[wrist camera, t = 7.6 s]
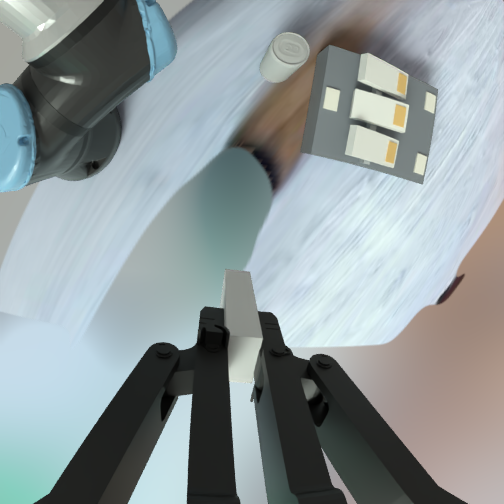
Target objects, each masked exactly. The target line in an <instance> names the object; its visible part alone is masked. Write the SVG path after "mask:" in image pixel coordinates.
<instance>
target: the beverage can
mask: <svg viewBox="0 0 504 504" xmlns="http://www.w3.org/2000/svg"><path fill="white" fill-rule="evenodd" d="M309 53H310V48H309V45H308V43H307V41H306V40H305V39H304V38H303V37H302V36H300V35H298V34H296V33H292V32H285V33H281V34H280V35H278V36H276V37H275V38H274V39H273V40H272V42H271V44H270V46H269V48H268V50H267V52H266V54H265V56H264V58H263V60H262V62H261V64H260V73H261V75H262V76H263V77H264V79H266V80H267V81H269V82H273V83H278V82H283V81H285V80H286V79H288V78H289V77H290V76H291V75H292V74H293V73H294V72H295V71H296V70H297V69H298V68H299V67H301V66H302V65H303V64H304V63H305V62H306V61H307V59H308V57H309Z"/></svg>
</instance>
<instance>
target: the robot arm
mask: <svg viewBox="0 0 504 504" xmlns="http://www.w3.org/2000/svg"><path fill="white" fill-rule="evenodd" d="M0 22H1V23H3V24H4V25H6V26H7V27H8V28H10V29H11V30H12V31H14V32H15V33H16V34H18V35H19V36H20V37H21V38H22V41H23V44H22V58H23V60H24V61H25V62H27V63H28V64H29V66H28V67H27V68H26V69H25V70H24V72H23V73H22V74H21V75H20V76H19V77H18V78H17V80H16V81H15V82H14V83H13V84H8V83H5V84H2V85H0V192H7V191H16V190H19V189H21V188H23V187H25V186H28V185H30V184H33V183H36V182H39V181H42V180H45V179H49V178H52V177H55V176H56V177H58V178H61V179H64V180H68V181H79V180H83V179H86V178H89V177H92V176H94V175H96V174H98V173H99V172H100V171H102V170H103V169H104V168H105V167H106V166H107V165H108V164H109V163H110V161H111V160H112V158H113V157H114V155H115V153H116V151H117V148H118V145H119V141H120V136H121V122H120V117H119V114H118V111H117V109H116V106H117V105H119V104H120V103H121V102H122V101H123V100H125V99H126V98H127V97H128V96H129V95H131V94H132V93H133V92H134V91H136V90H137V89H138V88H139V87H141V86H142V85H143V84H145V83H146V82H150V81H151V80H152V79H153V78H154V76H155V75H156V74H157V73H159V72H160V71H161V70H162V69H164V68H165V67H166V66H168V65H169V64H170V63H171V62H172V61H173V60H174V58H175V56H176V53H177V43H176V39H175V36H174V33H173V31H172V28H171V26H170V24H169V22H168V20H167V18H166V16H165V14H164V12H163V10H162V9H161V7H160V5H159V4H158V3H157V2H156V0H0ZM253 377H254V380H255V384H254V388H253V392H252V395H251V400H250V401H251V402H253V399H254V403H255V410H256V419H257V427H258V434H259V442H260V449H261V457H262V464H263V471H264V478H265V486H266V493H267V500H268V504H347V501H346V498H345V496H344V494H343V492H342V491H341V490H340V489H338V488H334V486H333V485H332V483H331V479H330V476H329V472H328V469H327V466H326V463H325V459H324V456H323V452H322V449H323V451H324V452H325V454H326V455H327V457H328V459H329V460H330V462H331V464H332V465H333V467H334V468H335V470H336V472H337V473H338V475H339V476H340V478H341V479H342V481H343V483H344V484H345V486H346V487H347V489H348V490H349V492H350V493H351V495H352V496H353V498H354V500H355V501H356V503H357V504H468V503H466V502H464V501H462V500H460V499H459V498H457V497H455V496H454V495H452V494H451V493H449V492H447V491H446V490H444V489H442V488H441V487H439V486H438V485H437V484H436V483H435V481H434V480H433V479H432V478H431V477H430V475H429V474H428V473H427V472H426V471H425V469H424V468H423V467H422V466H421V464H420V463H419V462H418V461H417V460H416V458H415V457H414V456H413V455H412V453H411V452H410V451H409V450H408V449H407V447H406V446H405V445H404V444H403V442H402V441H401V440H400V439H399V438H398V436H397V435H396V434H395V433H394V431H393V430H392V429H391V428H390V427H389V425H388V424H387V423H386V422H385V421H384V419H383V418H382V417H381V416H380V414H379V413H378V412H377V411H376V410H375V408H374V407H373V406H372V405H371V404H370V402H369V401H368V400H367V398H366V397H365V396H364V395H363V393H362V392H361V391H360V390H359V389H358V387H357V386H356V385H355V384H354V382H353V381H352V380H351V379H350V378H349V377H348V375H347V374H346V373H345V371H344V370H343V369H342V368H341V367H340V365H339V364H338V363H337V362H336V360H334V359H333V358H332V357H330V356H328V355H324V354H316V355H313V356H312V357H311V358H310V360H305V359H301V358H298V357H296V356H294V355H293V353H292V351H291V349H290V348H288V347H287V346H285V344H284V340H283V337H282V333H281V330H280V327H279V323H278V320H277V318H276V317H275V315H274V314H273V313H271V312H260V311H258V310H257V305H256V300H255V295H254V290H253V285H252V280H251V275H250V272H247V271H238V270H230V269H225V274H224V281H223V288H222V296H221V302H220V308H214V307H204V308H203V309H202V310H201V311H200V320H199V329H198V337H197V343H196V345H195V346H193V347H192V348H189V349H186V350H178V348H177V347H175V346H174V345H172V344H170V343H164V342H162V343H156V344H153V345H152V346H151V347H149V349H148V350H147V351H146V353H145V354H144V356H143V357H142V358H141V360H140V361H139V362H138V364H137V366H136V367H135V368H134V370H133V371H132V372H131V374H130V375H129V377H128V378H127V379H126V381H125V382H124V384H123V385H122V387H121V388H120V389H119V391H118V392H117V394H116V395H115V397H114V398H113V399H112V401H111V402H110V404H109V405H108V407H107V408H106V409H105V411H104V412H103V414H102V415H101V417H100V418H99V420H98V421H97V423H96V424H95V425H94V427H93V428H92V430H91V431H90V433H89V434H88V436H87V437H86V439H85V440H84V442H83V443H82V445H81V446H80V448H79V449H78V451H77V452H76V454H75V455H74V457H73V458H72V460H71V461H70V463H69V464H68V466H67V467H66V469H65V470H64V472H63V473H62V475H61V477H60V478H59V480H58V481H57V483H56V484H55V486H54V487H53V489H52V490H51V492H50V493H49V494H48V495H46V496H45V497H43V498H42V499H40V500H38V501H37V502H35V503H34V504H128V502H129V500H130V497H131V495H132V493H133V491H134V489H135V487H136V485H137V483H138V480H139V479H140V476H141V474H142V472H143V470H144V468H145V466H146V463H147V462H148V460H149V457H150V456H151V453H152V451H153V449H154V447H155V445H156V443H157V441H158V439H159V437H160V435H161V433H162V431H163V428H164V426H165V424H166V422H167V420H168V418H169V416H170V414H171V412H172V410H173V408H174V405H175V404H176V401H177V399H178V396H180V395H187V394H193V395H192V408H191V423H190V440H189V460H188V487H187V504H240V499H239V497H238V496H237V493H236V482H235V469H234V454H233V440H232V423H231V406H230V387H229V382H241V383H252V381H253ZM321 447H322V449H321Z"/></svg>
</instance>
